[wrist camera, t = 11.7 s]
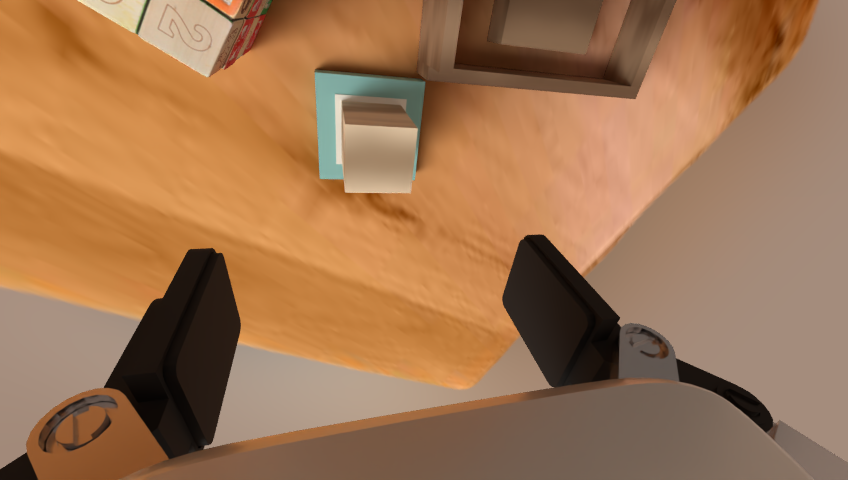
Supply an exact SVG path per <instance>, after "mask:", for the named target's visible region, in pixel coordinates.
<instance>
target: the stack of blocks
mask: <svg viewBox="0 0 848 480" xmlns="http://www.w3.org/2000/svg"><path fill="white" fill-rule="evenodd" d="M78 1H79V2H81V3H83V4H84V5H86V6H88V7H90V8H91V9H93V10H95V11H96V12H98V13H100V14H102V15H103V16H105V17H107V18H108V19H110V20H112V21H113V22H115V23H117V24H119V25H120V26H122V27H124V28H125V29H127V30H129V31H131V32H133V33H136V34H138V35H139V37H140V38H141V39H142V40H144V41H146V42H147V43H149V44H151V45H152V46H154V47H156V48H157V49H159V50H161V51H162V52H164V53H166V54H167V55H169V56H171V57H172V58H174V59H176V60H177V61H179V62H181V63H182V64H184V65H186V66H187V67H189V68H191V69H193V70H194V71H196V72H198V73H199V74H201V75H203V76H205V77H210V76H212V75H213V74H214V73H216V72H217V71H219V70H220V69H221V68H222V69H224V70H225V69H226V68H228V67H229V66H230V65H232V64H233V63H234V62H235V61H236V60H237V59H238V58H239V57H240V56H242V55H244V54H245V53H247V52H248V51H249V50H250V48H251V46H252V44H253V42H254V40H255V38H256V35H257V33H258V31H259V29H260V27H261V25H262V23H263V21H264V19H265V17H266V13H267V10H268V8H269V6H270V4H271V2H272V0H78Z"/></svg>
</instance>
